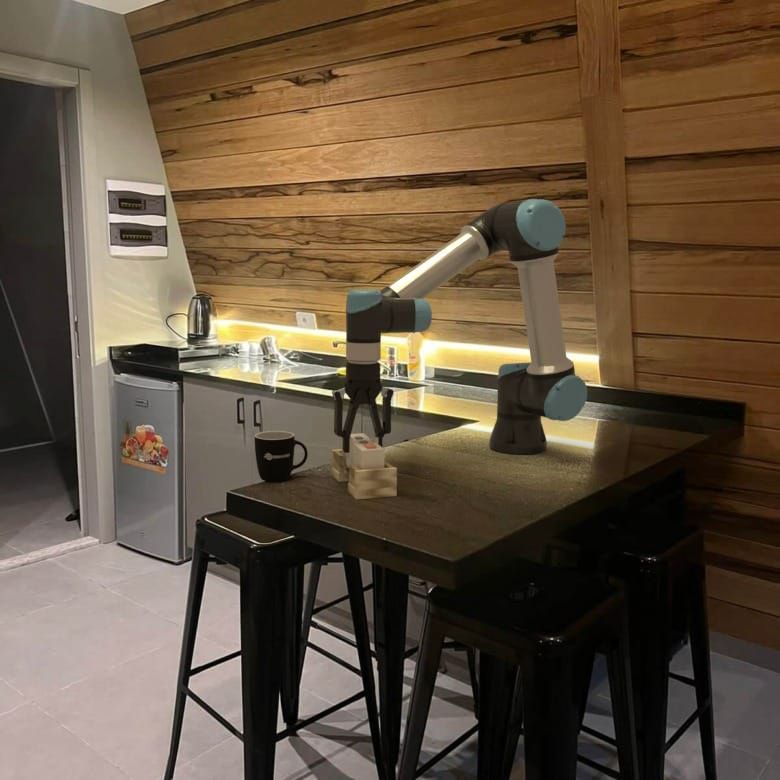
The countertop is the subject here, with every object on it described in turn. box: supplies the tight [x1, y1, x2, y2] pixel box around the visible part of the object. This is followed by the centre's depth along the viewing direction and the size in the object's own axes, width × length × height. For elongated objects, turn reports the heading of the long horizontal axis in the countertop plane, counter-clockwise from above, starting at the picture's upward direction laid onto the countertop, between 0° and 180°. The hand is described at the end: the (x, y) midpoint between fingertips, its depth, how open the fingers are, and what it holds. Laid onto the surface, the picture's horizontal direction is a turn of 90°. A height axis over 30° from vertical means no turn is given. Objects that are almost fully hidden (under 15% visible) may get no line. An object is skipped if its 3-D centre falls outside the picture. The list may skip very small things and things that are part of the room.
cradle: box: [331, 448, 398, 501], centre depth 176 cm, size 9×20×6 cm, turn 19°
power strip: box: [341, 432, 386, 470], centre depth 176 cm, size 5×16×6 cm, turn 19°
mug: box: [254, 430, 309, 483], centre depth 181 cm, size 12×9×10 cm
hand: (362, 465), depth 176 cm, fingers closed on power strip, 5 cm apart
